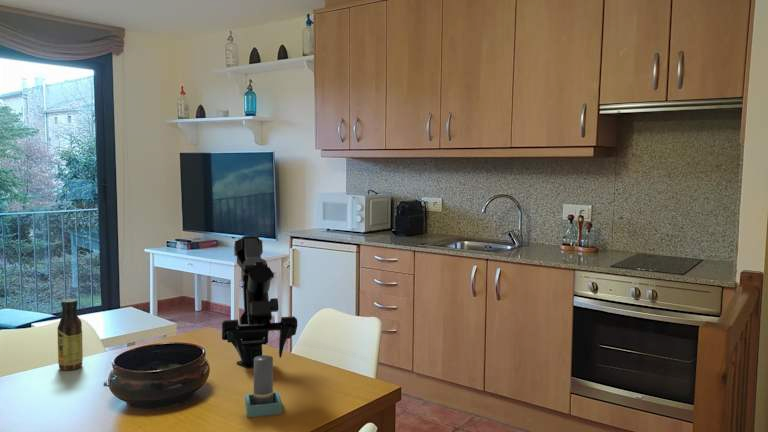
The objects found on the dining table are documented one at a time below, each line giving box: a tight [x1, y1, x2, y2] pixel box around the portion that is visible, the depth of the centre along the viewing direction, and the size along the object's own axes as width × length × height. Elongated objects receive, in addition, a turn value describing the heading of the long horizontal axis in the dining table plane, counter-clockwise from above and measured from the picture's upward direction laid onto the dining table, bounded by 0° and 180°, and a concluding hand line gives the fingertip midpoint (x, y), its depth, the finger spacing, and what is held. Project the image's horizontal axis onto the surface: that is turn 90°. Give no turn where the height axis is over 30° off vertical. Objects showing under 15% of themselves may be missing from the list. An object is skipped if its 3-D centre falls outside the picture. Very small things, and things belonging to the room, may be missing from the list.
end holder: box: [244, 390, 283, 418], centre depth 140 cm, size 8×8×2 cm
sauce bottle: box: [56, 298, 84, 371], centre depth 166 cm, size 6×6×20 cm
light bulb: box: [252, 354, 274, 405], centre depth 139 cm, size 5×5×12 cm
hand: (261, 358), depth 143 cm, fingers open, 9 cm apart
